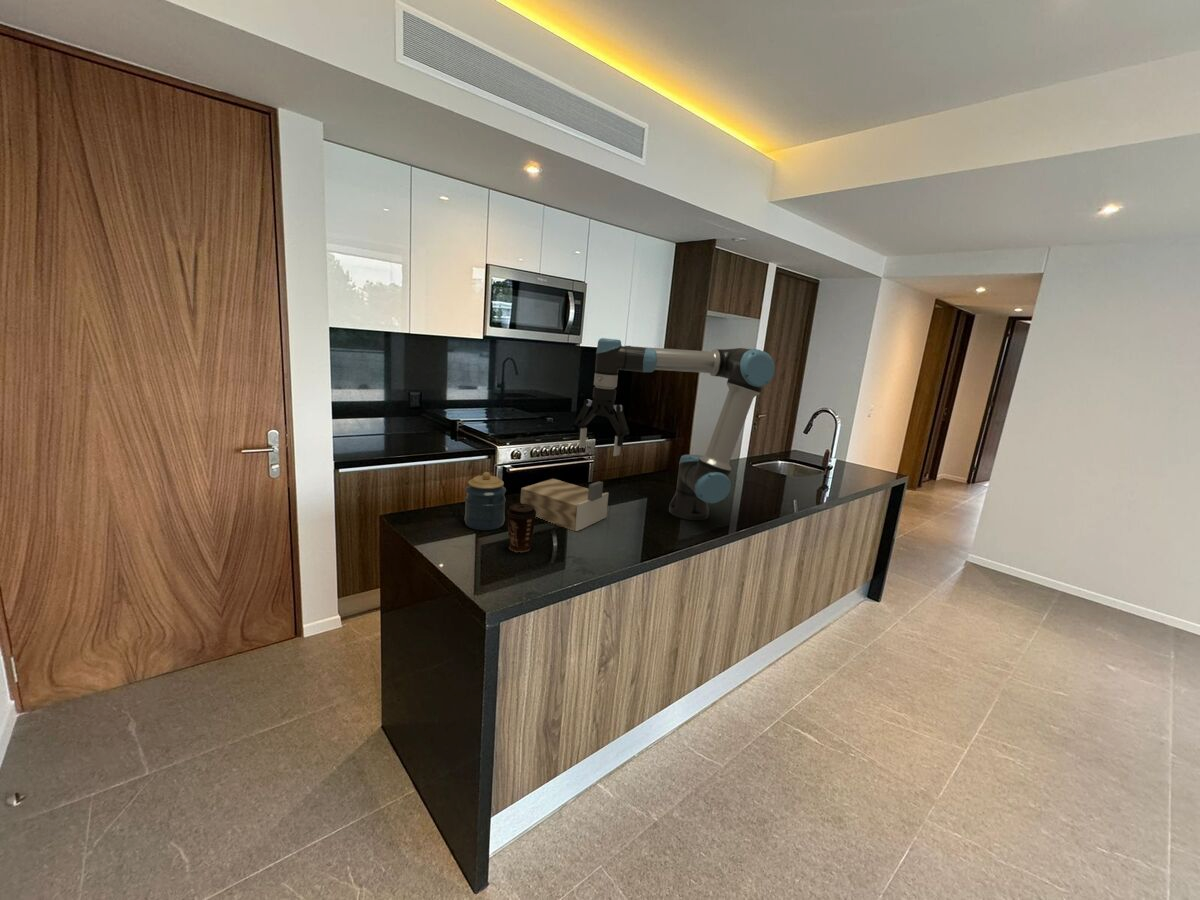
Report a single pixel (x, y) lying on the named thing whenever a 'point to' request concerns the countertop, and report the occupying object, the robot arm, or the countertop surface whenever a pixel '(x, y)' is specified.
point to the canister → (485, 503)
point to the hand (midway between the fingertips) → (598, 451)
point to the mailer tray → (592, 507)
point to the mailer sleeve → (555, 501)
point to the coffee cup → (521, 526)
